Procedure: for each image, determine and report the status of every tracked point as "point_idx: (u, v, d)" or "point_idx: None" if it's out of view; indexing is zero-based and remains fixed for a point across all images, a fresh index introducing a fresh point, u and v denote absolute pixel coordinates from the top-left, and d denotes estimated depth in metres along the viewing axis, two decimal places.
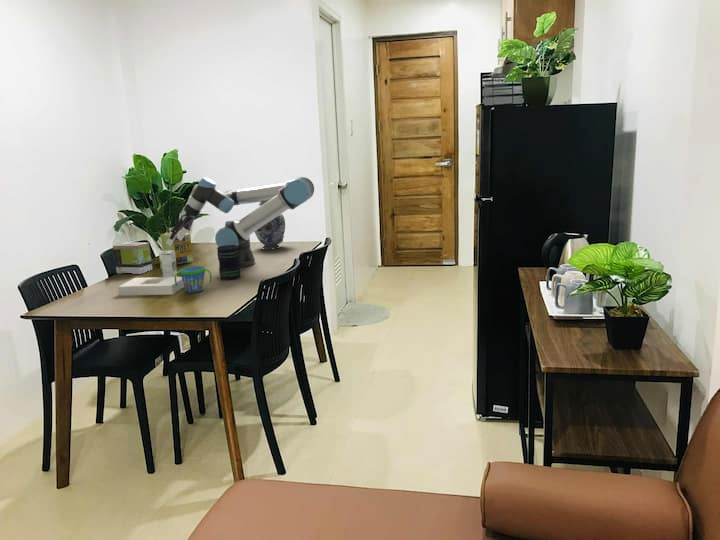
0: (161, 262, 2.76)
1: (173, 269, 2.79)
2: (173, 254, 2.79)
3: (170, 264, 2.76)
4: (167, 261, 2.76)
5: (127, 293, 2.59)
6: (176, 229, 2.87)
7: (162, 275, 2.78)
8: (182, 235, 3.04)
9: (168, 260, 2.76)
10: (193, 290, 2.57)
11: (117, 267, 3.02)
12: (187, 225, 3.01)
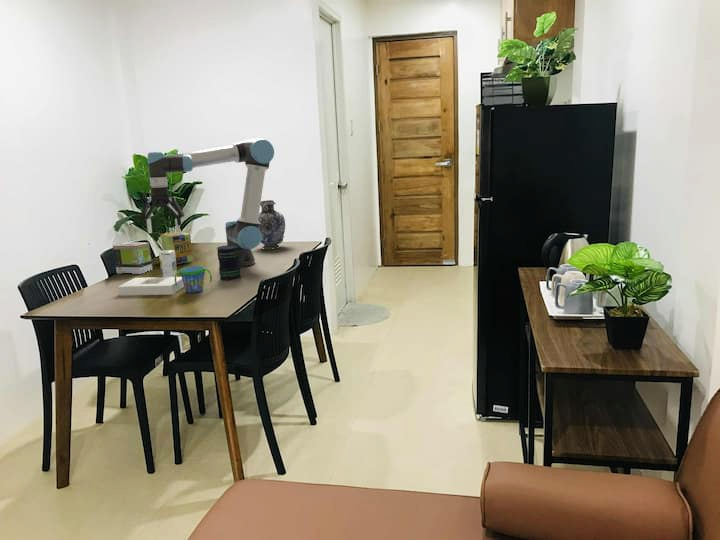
0: (161, 262, 2.76)
1: (173, 269, 2.79)
2: (173, 254, 2.79)
3: (170, 264, 2.76)
4: (167, 261, 2.76)
5: (127, 293, 2.59)
6: (181, 211, 2.74)
7: (162, 275, 2.78)
8: (150, 226, 2.77)
9: (168, 260, 2.76)
10: (193, 290, 2.57)
11: (117, 267, 3.02)
12: (151, 212, 2.75)
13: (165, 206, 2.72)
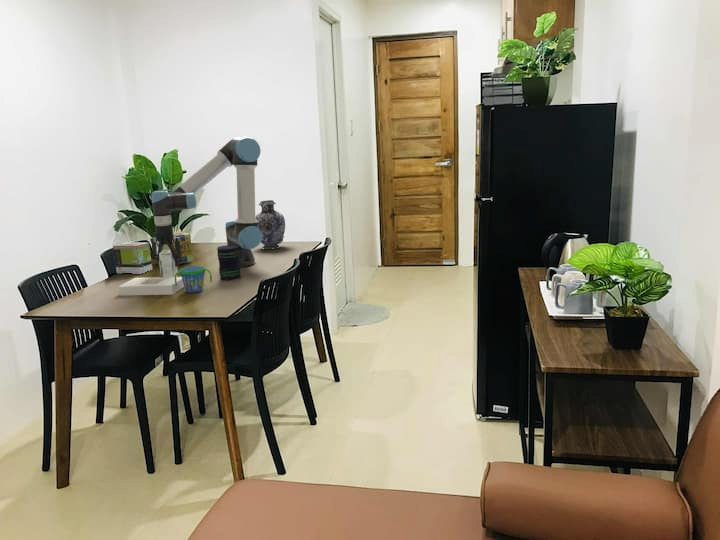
0: (161, 262, 2.76)
1: (173, 269, 2.79)
2: None
3: (170, 264, 2.76)
4: (167, 261, 2.76)
5: (127, 293, 2.59)
6: (180, 252, 2.78)
7: (162, 275, 2.78)
8: None
9: (168, 259, 2.76)
10: (193, 290, 2.57)
11: (117, 267, 3.02)
12: None
13: None
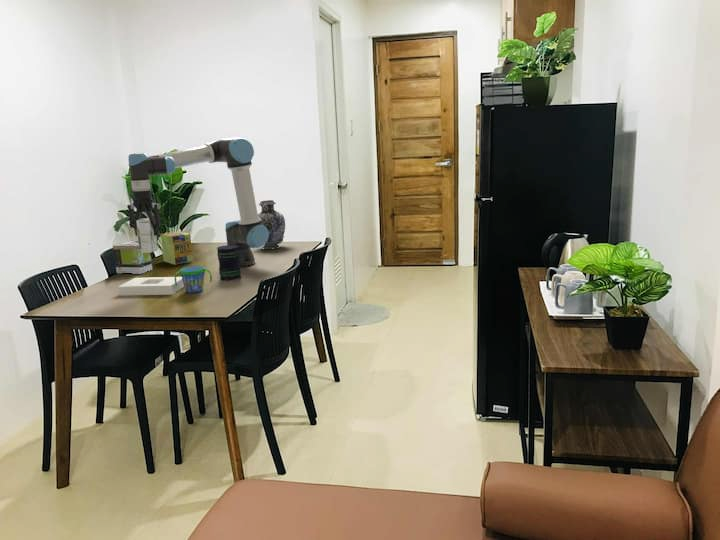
0: (139, 230, 2.58)
1: None
2: None
3: (148, 233, 2.58)
4: (145, 229, 2.57)
5: (127, 293, 2.59)
6: (160, 221, 2.59)
7: (140, 244, 2.59)
8: None
9: (146, 228, 2.57)
10: (193, 290, 2.57)
11: (117, 267, 3.02)
12: None
13: None
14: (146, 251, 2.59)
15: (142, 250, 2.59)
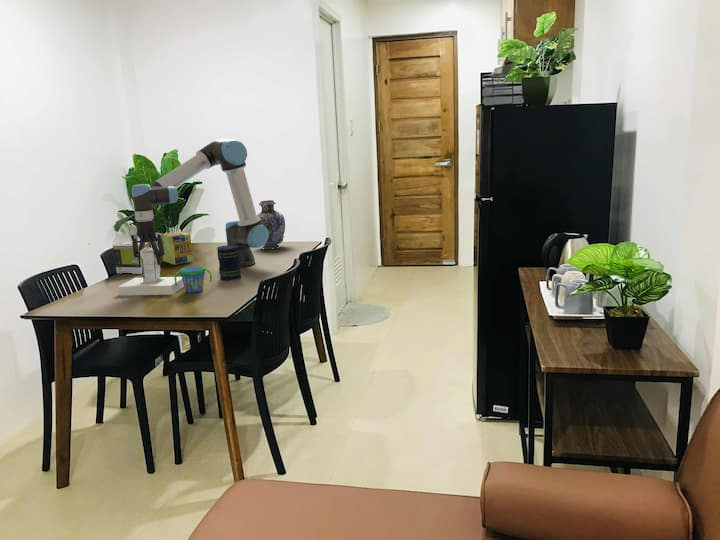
0: (142, 260, 2.60)
1: None
2: None
3: (152, 262, 2.60)
4: (148, 259, 2.60)
5: (127, 293, 2.59)
6: (163, 250, 2.62)
7: (143, 274, 2.61)
8: None
9: (149, 257, 2.59)
10: (193, 290, 2.57)
11: (117, 267, 3.02)
12: None
13: (149, 242, 2.59)
14: (150, 280, 2.62)
15: (146, 280, 2.62)
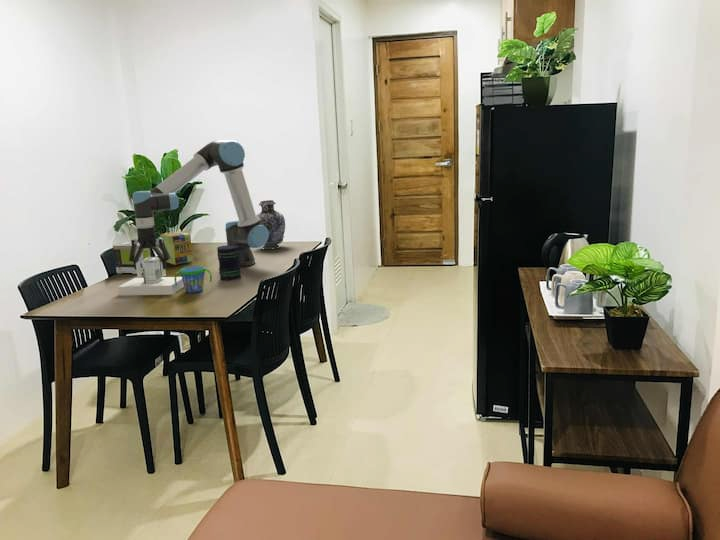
0: (144, 270, 2.61)
1: (157, 277, 2.63)
2: (157, 262, 2.63)
3: (153, 272, 2.61)
4: (150, 269, 2.61)
5: (127, 293, 2.59)
6: (167, 254, 2.62)
7: None
8: (140, 270, 2.65)
9: (151, 267, 2.61)
10: (193, 290, 2.57)
11: (117, 267, 3.02)
12: (140, 255, 2.63)
13: None
14: None
15: None
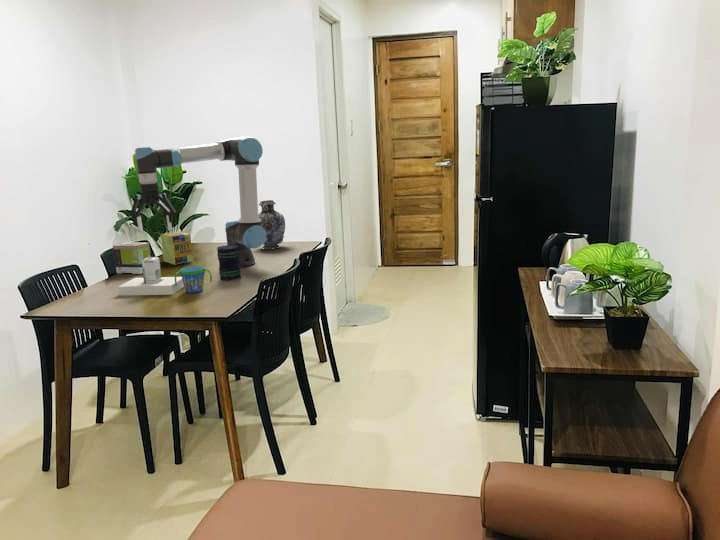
0: (144, 270, 2.61)
1: (157, 277, 2.63)
2: (157, 262, 2.63)
3: (153, 272, 2.61)
4: (150, 269, 2.61)
5: (127, 293, 2.59)
6: (173, 207, 2.65)
7: None
8: (141, 224, 2.68)
9: (151, 267, 2.61)
10: (193, 290, 2.57)
11: (117, 267, 3.02)
12: (141, 210, 2.67)
13: (156, 203, 2.63)
14: None
15: None
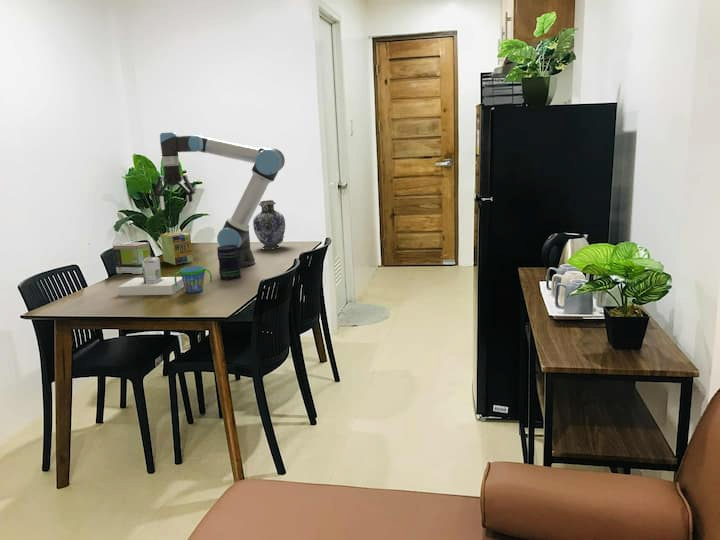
0: (144, 270, 2.61)
1: (157, 277, 2.63)
2: (157, 262, 2.63)
3: (153, 272, 2.61)
4: (150, 269, 2.61)
5: (127, 293, 2.59)
6: (192, 188, 2.90)
7: None
8: (163, 203, 2.93)
9: (151, 267, 2.61)
10: (193, 290, 2.57)
11: (117, 267, 3.02)
12: (164, 190, 2.92)
13: (177, 183, 2.88)
14: None
15: None
